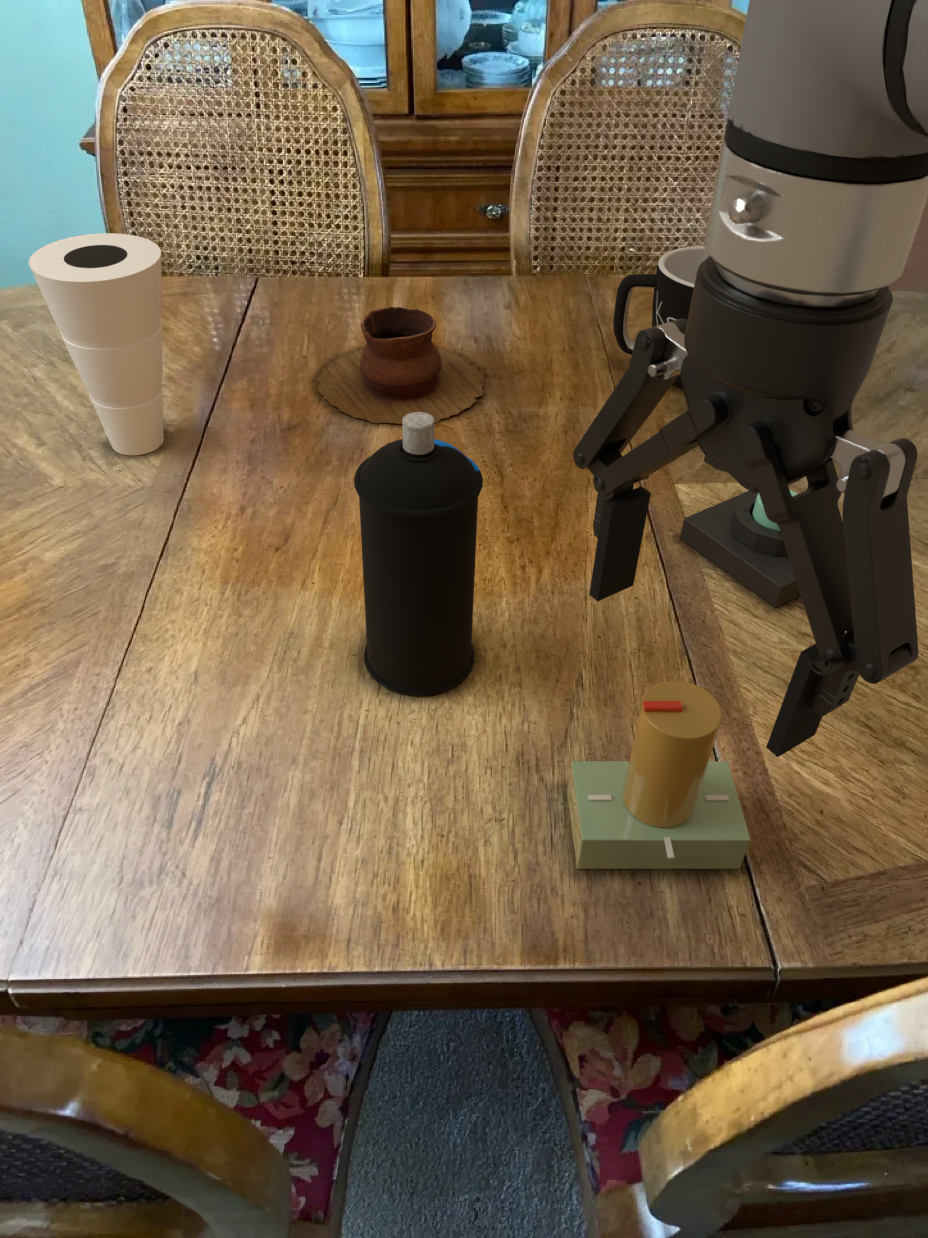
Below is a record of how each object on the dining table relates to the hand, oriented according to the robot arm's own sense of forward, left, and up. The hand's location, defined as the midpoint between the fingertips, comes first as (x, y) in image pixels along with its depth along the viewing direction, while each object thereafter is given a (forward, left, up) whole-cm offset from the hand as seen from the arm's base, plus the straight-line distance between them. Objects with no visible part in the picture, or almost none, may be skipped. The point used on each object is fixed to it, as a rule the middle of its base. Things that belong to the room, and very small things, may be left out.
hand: (693, 660), depth 52 cm
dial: (0, 0, -11) cm, 11 cm away
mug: (+43, -46, -14) cm, 64 cm away
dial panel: (0, 0, -14) cm, 14 cm away
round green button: (+16, -28, -11) cm, 33 cm away
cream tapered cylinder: (+61, +12, -14) cm, 63 cm away
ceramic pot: (+58, -17, -14) cm, 62 cm away
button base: (+16, -28, -14) cm, 35 cm away
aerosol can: (+21, +4, -14) cm, 26 cm away
